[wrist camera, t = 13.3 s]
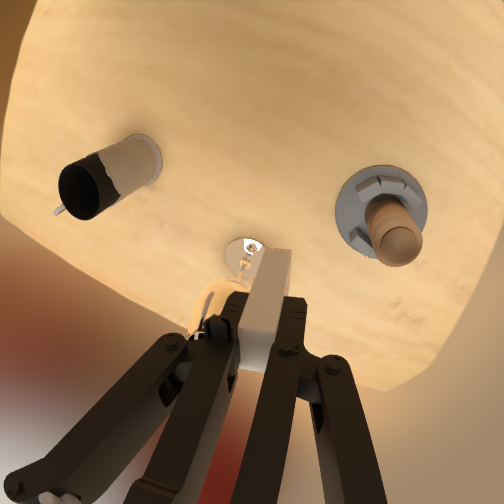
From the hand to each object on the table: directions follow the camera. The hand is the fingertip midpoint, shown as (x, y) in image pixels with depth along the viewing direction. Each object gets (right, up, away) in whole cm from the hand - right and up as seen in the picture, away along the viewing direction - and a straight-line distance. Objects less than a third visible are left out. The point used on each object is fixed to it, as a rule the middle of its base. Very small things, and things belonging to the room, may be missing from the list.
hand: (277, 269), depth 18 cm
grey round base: (+17, +7, +23) cm, 30 cm away
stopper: (+17, +6, +22) cm, 29 cm away
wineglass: (-2, 0, +32) cm, 32 cm away
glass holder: (-22, +15, +28) cm, 39 cm away
